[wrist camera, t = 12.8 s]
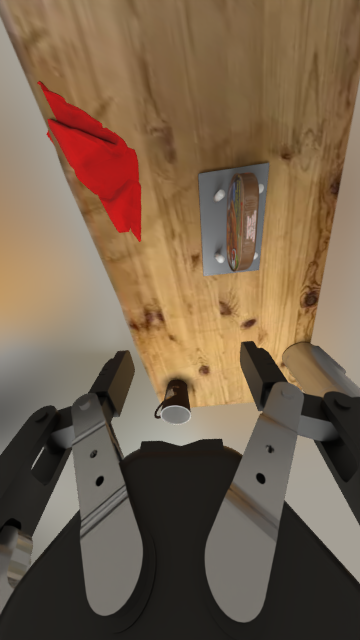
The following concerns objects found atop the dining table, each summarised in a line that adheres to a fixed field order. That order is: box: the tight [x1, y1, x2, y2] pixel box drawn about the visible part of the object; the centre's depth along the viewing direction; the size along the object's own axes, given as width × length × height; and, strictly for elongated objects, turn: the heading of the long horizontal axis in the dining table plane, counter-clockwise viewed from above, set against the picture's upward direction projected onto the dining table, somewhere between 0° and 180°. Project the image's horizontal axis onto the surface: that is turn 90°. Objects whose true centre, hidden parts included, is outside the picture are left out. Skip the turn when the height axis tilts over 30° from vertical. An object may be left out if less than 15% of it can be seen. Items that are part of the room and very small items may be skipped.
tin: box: [227, 172, 259, 272], centre depth 30 cm, size 15×3×8 cm, turn 7°
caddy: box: [198, 163, 269, 276], centre depth 32 cm, size 12×18×6 cm, turn 7°
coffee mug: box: [155, 380, 191, 425], centre depth 53 cm, size 12×9×10 cm
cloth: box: [37, 81, 141, 242], centre depth 31 cm, size 26×14×2 cm, turn 19°
